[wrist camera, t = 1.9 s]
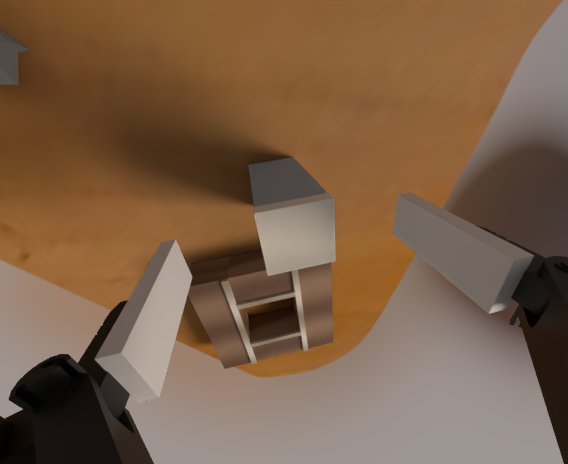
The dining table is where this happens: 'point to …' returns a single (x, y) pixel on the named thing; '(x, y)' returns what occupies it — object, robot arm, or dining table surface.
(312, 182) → the peg
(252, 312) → the dining table surface
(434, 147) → the dining table surface
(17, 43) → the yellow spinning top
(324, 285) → the socket block
